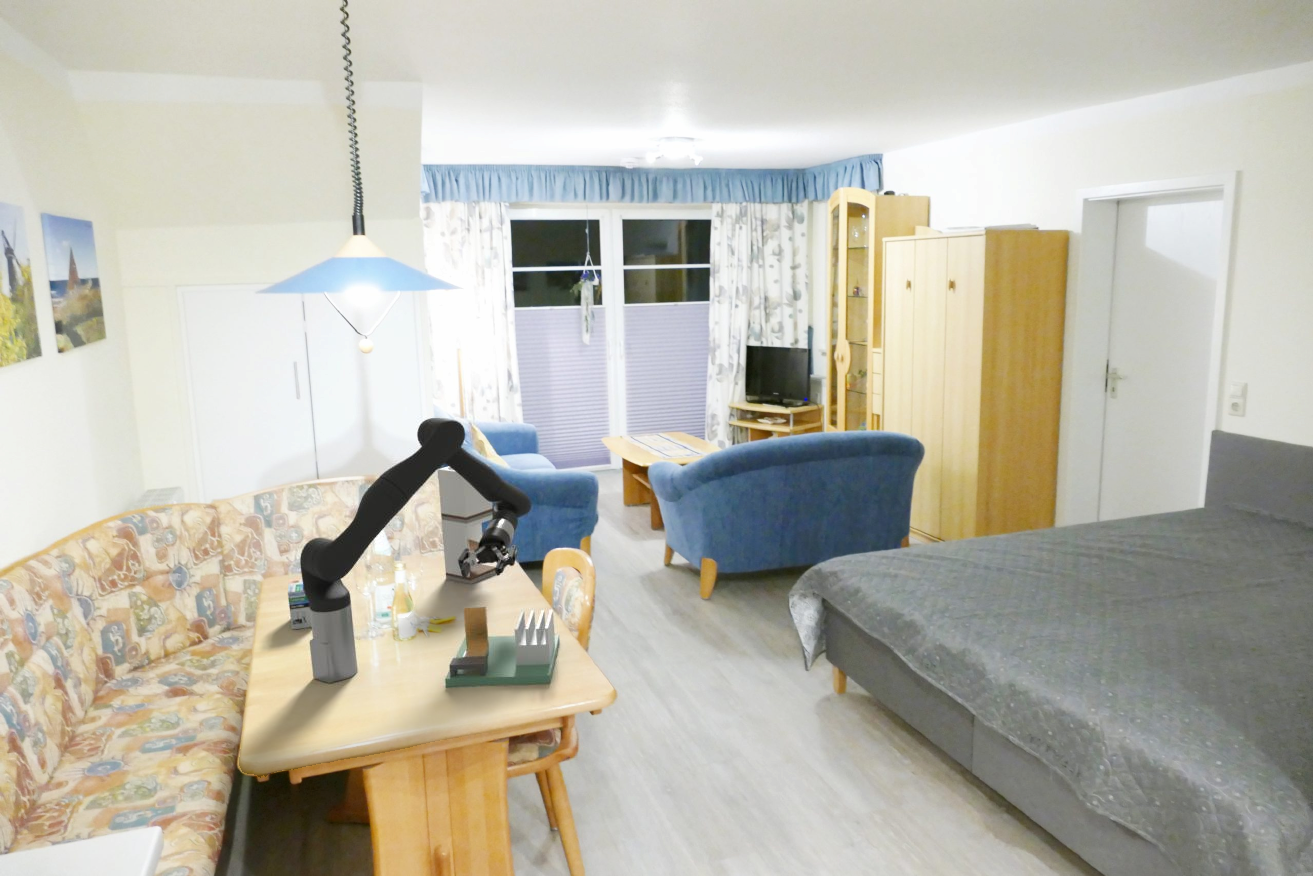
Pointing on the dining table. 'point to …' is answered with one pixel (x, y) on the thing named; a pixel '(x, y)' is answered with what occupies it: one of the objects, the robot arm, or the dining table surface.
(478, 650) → the upright wooden plank
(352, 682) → the dining table surface
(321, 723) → the dining table surface
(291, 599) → the light bulb box
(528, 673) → the heatsink board
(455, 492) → the notched white tower
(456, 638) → the dining table surface
